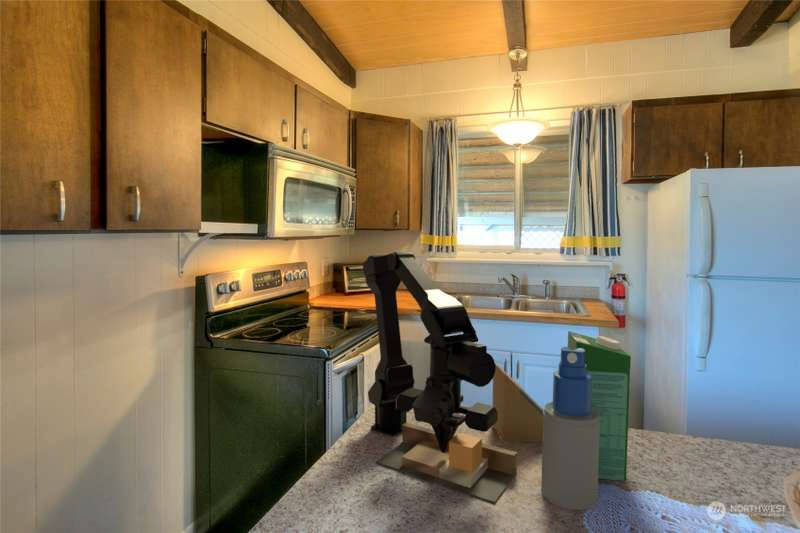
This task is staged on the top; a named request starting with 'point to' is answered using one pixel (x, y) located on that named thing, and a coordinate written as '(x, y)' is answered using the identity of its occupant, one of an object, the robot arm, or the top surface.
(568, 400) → the spray bottle
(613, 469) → the milk carton
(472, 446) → the block
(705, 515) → the top surface
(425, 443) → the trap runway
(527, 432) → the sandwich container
